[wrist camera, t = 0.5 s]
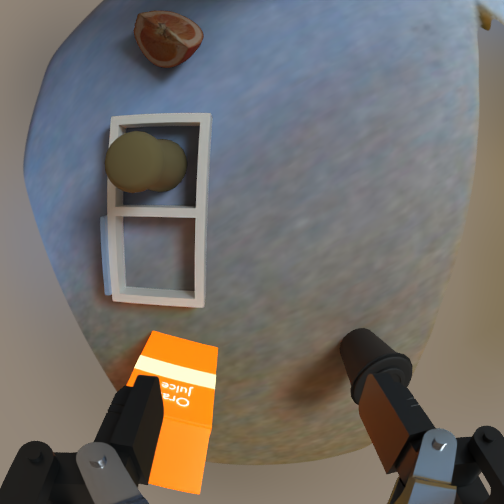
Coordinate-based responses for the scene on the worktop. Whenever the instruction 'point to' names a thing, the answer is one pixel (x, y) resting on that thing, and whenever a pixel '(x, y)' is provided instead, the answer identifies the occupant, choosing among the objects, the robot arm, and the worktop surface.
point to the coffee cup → (371, 360)
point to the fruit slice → (167, 37)
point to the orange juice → (180, 407)
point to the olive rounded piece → (144, 163)
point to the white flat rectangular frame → (116, 210)
